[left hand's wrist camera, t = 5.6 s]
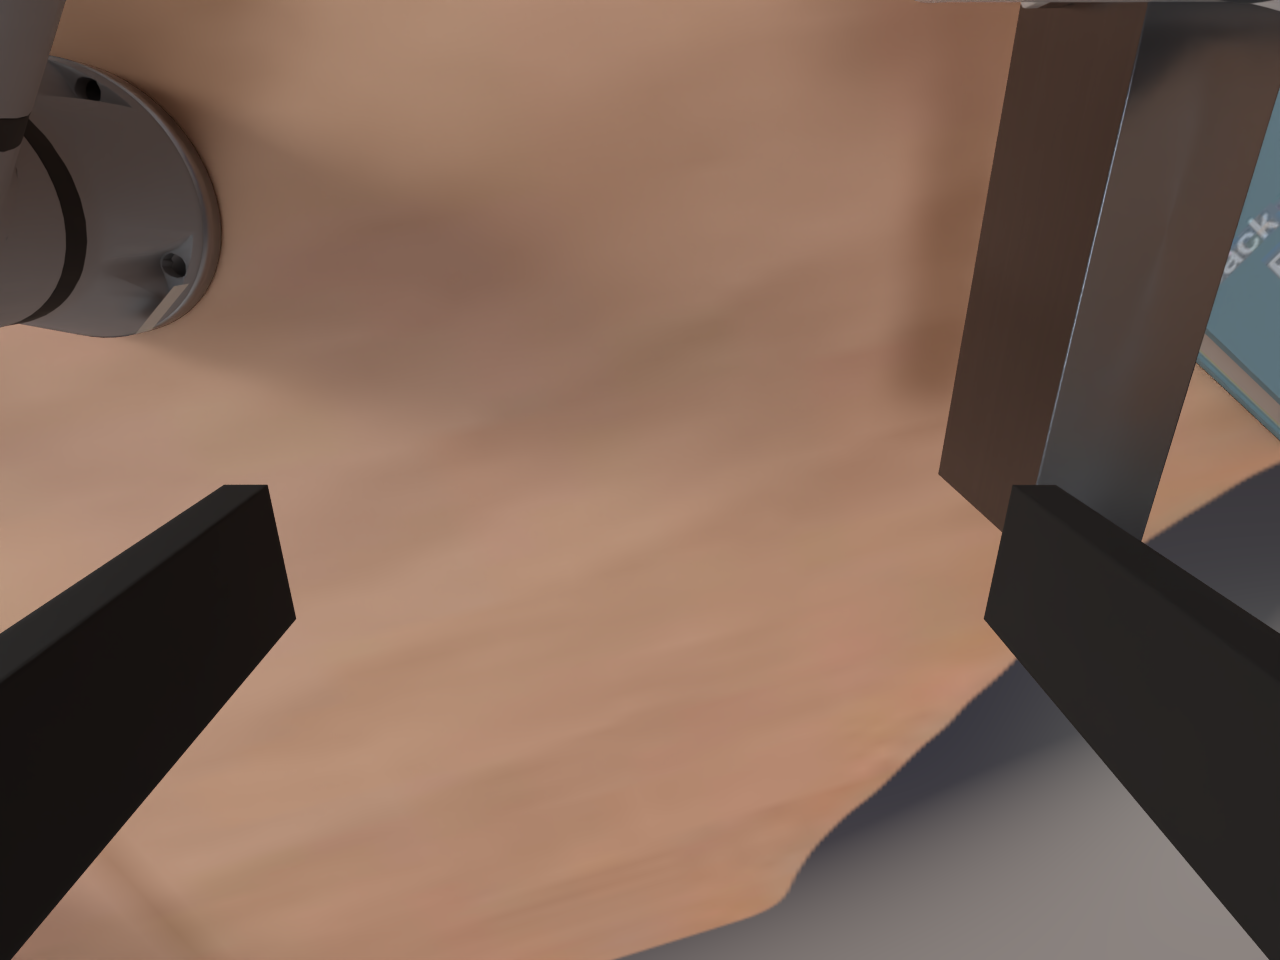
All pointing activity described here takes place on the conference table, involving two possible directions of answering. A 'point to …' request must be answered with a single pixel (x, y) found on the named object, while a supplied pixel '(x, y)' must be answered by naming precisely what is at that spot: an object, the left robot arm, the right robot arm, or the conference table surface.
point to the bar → (1105, 245)
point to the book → (1252, 296)
